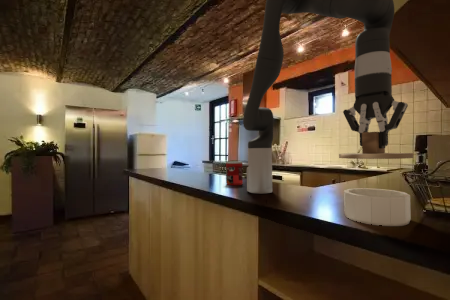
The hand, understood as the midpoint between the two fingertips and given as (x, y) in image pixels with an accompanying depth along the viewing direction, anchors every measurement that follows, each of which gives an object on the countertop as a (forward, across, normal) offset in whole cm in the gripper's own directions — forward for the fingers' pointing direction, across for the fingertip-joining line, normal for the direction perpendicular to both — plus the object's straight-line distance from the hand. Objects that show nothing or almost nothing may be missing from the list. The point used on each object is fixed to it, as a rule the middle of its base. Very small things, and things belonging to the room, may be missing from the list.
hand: (373, 148), depth 59 cm
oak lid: (+2, 0, 0) cm, 2 cm away
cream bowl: (+17, 0, 0) cm, 17 cm away
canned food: (+17, -68, +14) cm, 71 cm away
